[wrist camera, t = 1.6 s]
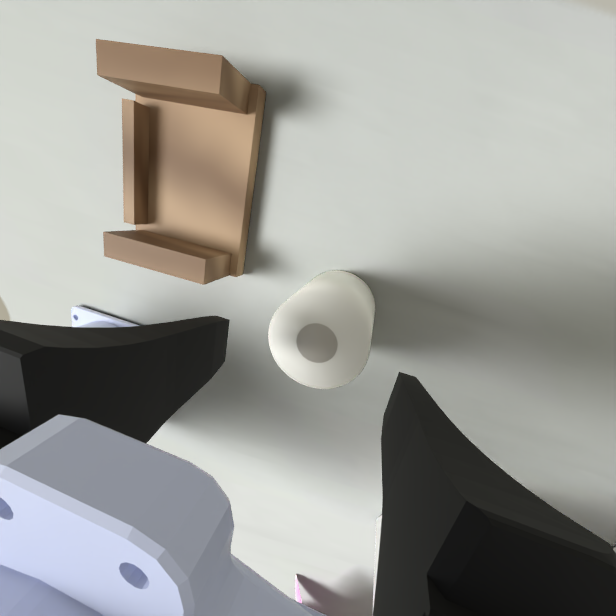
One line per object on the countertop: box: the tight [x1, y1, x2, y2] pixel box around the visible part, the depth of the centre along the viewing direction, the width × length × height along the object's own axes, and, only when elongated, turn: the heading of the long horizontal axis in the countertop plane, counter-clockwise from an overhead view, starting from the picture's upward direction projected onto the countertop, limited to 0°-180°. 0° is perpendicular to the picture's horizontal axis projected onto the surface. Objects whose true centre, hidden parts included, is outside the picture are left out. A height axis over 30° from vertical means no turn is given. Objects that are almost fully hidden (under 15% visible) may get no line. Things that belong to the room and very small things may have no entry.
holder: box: [96, 39, 266, 285], centre depth 18 cm, size 11×8×4 cm
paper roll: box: [268, 270, 375, 389], centre depth 17 cm, size 5×5×6 cm
